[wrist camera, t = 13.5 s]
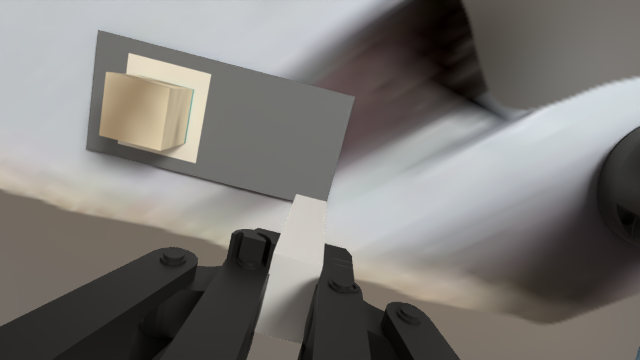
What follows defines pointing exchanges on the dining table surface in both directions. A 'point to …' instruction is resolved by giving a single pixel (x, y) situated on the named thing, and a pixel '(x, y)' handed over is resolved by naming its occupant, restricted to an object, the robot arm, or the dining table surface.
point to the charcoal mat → (232, 121)
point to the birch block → (145, 111)
